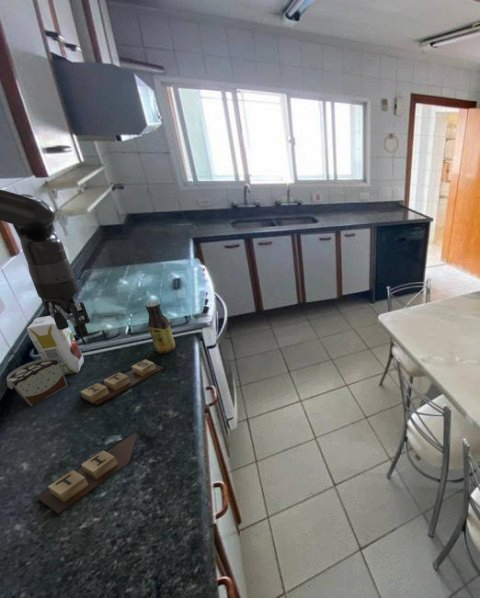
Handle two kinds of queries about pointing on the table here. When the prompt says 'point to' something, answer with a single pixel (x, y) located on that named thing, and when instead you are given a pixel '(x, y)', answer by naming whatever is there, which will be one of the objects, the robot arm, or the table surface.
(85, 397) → the right word rack
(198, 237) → the table surface
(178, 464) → the table surface
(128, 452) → the left word rack
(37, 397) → the food container
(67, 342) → the juice carton
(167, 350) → the sauce bottle
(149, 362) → the s tile
